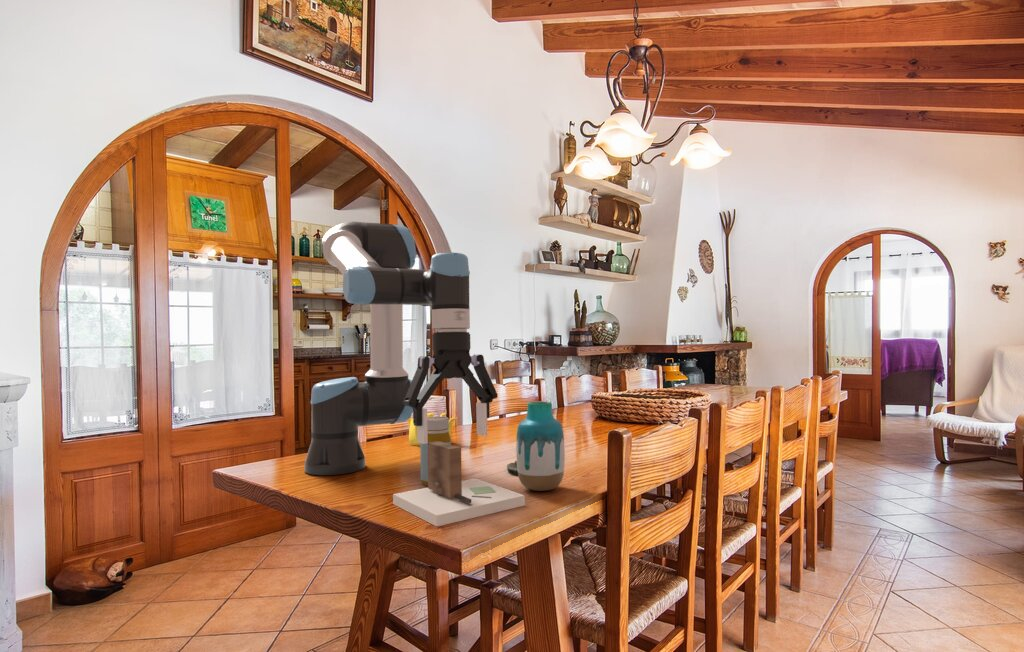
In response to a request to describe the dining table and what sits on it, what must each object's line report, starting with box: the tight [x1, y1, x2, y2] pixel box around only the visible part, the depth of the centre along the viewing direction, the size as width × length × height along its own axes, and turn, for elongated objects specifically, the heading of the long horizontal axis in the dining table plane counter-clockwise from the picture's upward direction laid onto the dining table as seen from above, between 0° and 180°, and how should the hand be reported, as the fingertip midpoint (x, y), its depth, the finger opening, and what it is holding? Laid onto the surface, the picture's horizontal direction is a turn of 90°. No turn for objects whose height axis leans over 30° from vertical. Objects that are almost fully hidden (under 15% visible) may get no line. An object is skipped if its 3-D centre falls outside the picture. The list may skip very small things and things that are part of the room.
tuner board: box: [392, 478, 526, 527], centre depth 116 cm, size 18×20×2 cm
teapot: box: [407, 412, 458, 447], centre depth 183 cm, size 15×14×10 cm
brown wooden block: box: [427, 441, 471, 503], centre depth 114 cm, size 14×4×10 cm, turn 37°
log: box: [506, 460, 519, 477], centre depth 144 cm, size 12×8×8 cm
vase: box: [515, 400, 566, 492], centre depth 126 cm, size 11×11×19 cm
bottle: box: [419, 416, 452, 487], centre depth 133 cm, size 7×7×15 cm
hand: (453, 438), depth 113 cm, fingers open, 13 cm apart
